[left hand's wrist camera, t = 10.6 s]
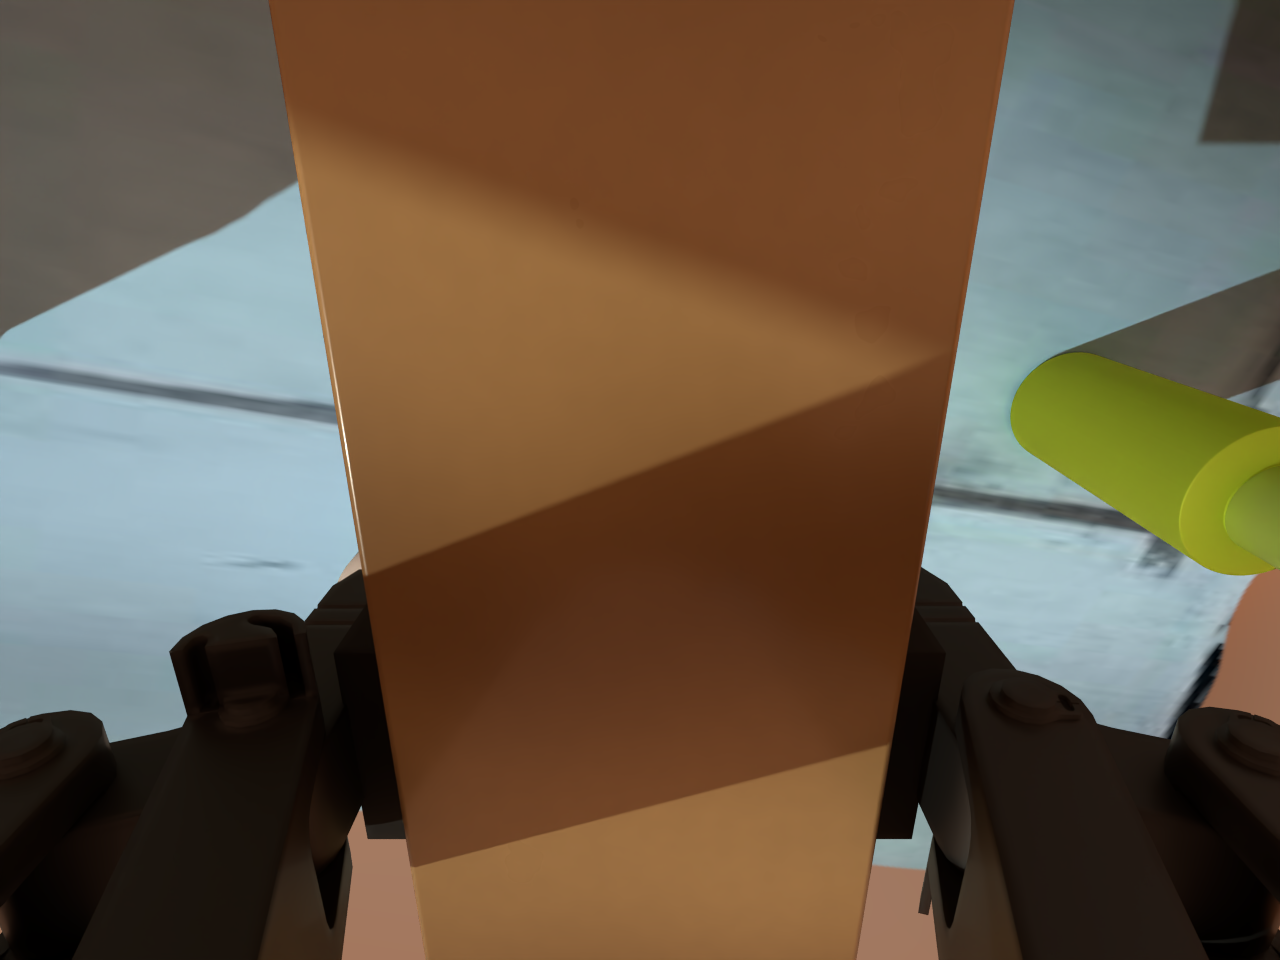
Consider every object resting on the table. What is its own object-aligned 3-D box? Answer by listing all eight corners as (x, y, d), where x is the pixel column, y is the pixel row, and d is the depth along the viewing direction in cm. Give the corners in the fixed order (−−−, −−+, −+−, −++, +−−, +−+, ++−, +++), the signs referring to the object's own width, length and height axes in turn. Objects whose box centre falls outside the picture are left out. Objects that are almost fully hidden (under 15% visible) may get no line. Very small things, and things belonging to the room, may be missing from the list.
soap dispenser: (1162, 374, 37) (1677, 547, 19) (1066, 478, 39) (1442, 726, 21) (1081, 312, 36) (1542, 430, 18) (986, 422, 38) (1308, 632, 20)
